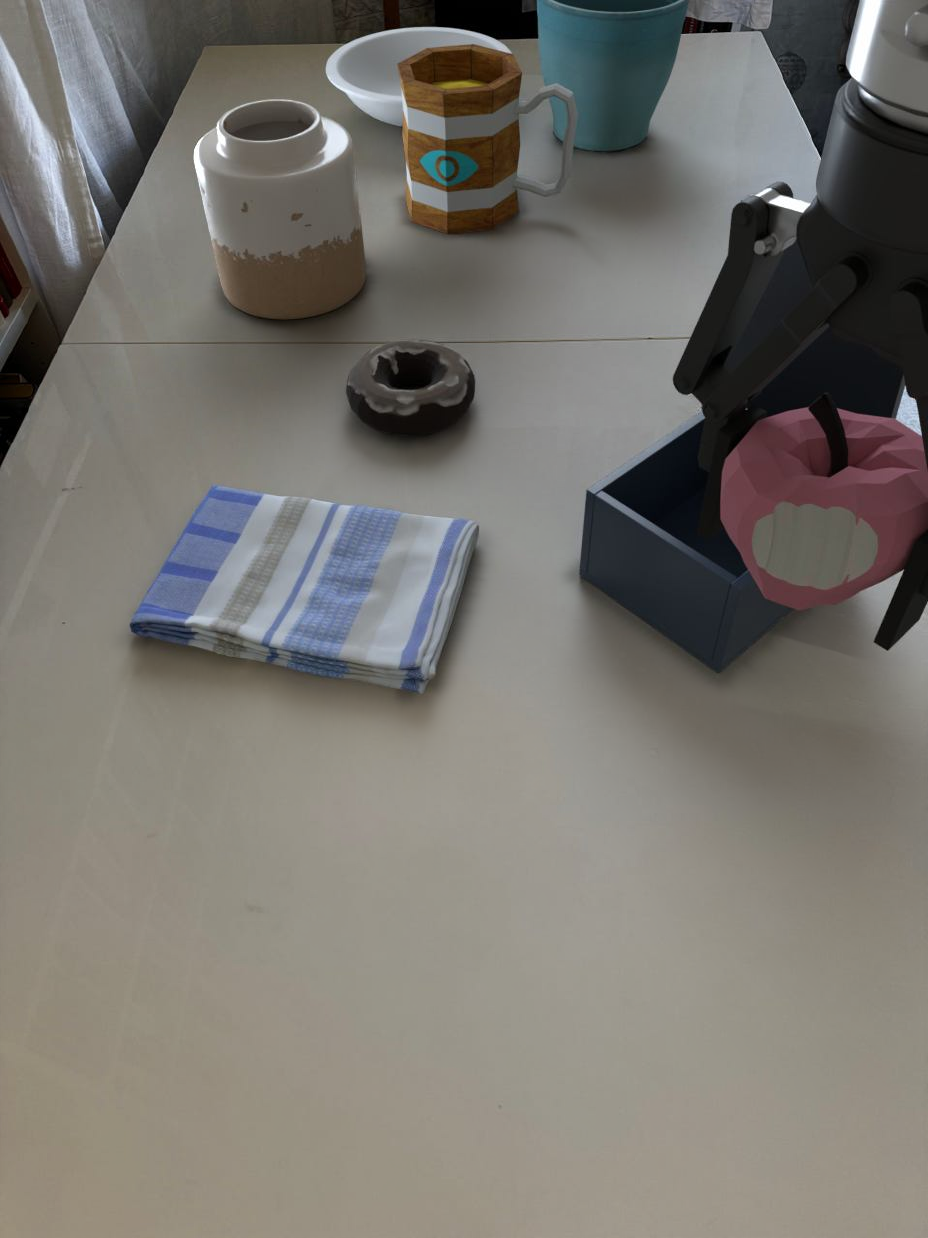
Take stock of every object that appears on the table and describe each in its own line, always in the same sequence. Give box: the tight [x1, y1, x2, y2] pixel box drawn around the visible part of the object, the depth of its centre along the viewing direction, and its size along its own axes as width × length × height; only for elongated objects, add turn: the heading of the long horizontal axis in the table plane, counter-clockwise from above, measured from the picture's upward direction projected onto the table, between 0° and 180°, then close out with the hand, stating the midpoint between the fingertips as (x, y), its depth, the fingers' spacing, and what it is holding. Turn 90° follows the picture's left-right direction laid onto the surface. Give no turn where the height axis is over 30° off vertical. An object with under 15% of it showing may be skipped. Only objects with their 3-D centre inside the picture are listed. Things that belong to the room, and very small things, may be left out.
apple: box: [720, 392, 928, 611], centre depth 47 cm, size 10×9×10 cm
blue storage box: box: [578, 411, 795, 674], centre depth 77 cm, size 16×14×9 cm
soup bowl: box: [325, 26, 513, 127], centre depth 134 cm, size 24×24×7 cm
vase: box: [193, 98, 367, 320], centre depth 104 cm, size 15×15×17 cm
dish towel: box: [129, 484, 480, 695], centre depth 79 cm, size 17×24×3 cm
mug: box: [398, 44, 578, 235], centre depth 114 cm, size 20×14×15 cm
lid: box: [726, 194, 906, 420], centre depth 72 cm, size 16×14×10 cm
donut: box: [345, 338, 476, 437], centre depth 94 cm, size 12×12×4 cm
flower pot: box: [536, 0, 690, 152], centre depth 126 cm, size 18×18×17 cm
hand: (803, 574), depth 50 cm, fingers closed on apple, 9 cm apart
